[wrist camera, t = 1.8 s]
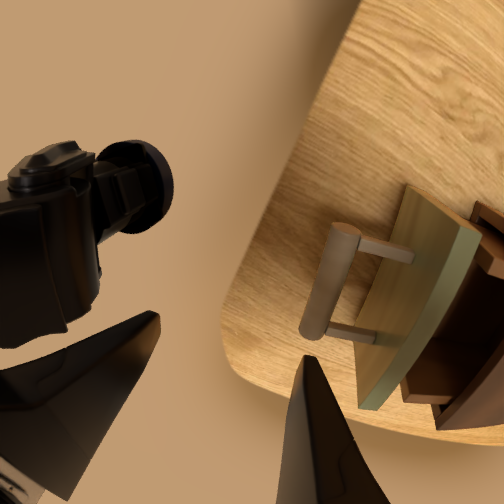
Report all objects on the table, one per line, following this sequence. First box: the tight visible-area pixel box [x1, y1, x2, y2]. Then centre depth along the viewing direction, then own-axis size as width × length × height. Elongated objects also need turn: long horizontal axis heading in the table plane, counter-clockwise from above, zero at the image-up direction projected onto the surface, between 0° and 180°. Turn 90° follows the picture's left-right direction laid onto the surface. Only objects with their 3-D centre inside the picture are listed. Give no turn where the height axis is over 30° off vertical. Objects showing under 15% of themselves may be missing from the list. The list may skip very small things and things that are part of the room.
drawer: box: [299, 185, 504, 411], centre depth 13 cm, size 17×10×7 cm, turn 81°
